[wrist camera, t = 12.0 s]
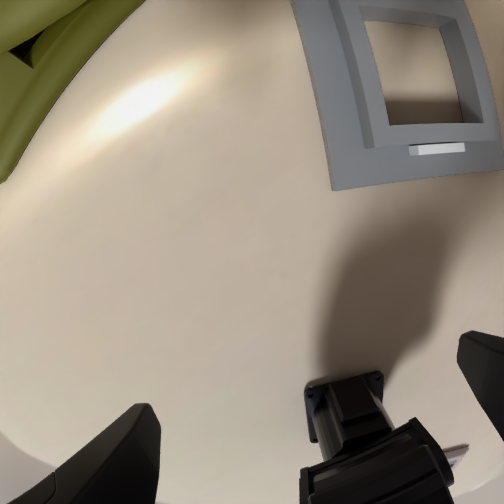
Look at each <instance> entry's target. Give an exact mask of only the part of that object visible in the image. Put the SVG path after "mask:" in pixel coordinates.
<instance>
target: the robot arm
mask: <svg viewBox="0 0 504 504" xmlns="http://www.w3.org/2000/svg"><path fill="white" fill-rule="evenodd" d="M457 363H458V365H459V367H460V369H461V371H462V373H463V374H464V376H465V378H466V380H467V382H468V384H469V386H470V387H471V389H472V391H473V393H474V395H475V397H476V399H477V400H478V402H479V404H480V405H481V407H482V408H483V410H484V411H485V413H486V414H487V416H488V417H489V419H490V420H491V422H492V424H493V425H494V427H495V428H496V430H497V431H498V433H499V435H500V436H501V438H502V440H503V441H504V338H503V337H498V336H494V335H490V334H486V333H482V332H477V331H473V330H472V331H469V332H466V333H464V334H462V335H461V336H460V339H459V345H458V352H457ZM377 376H379V377H378V378H376V377H377ZM383 384H384V375H383V374H382V372H381V371H375V372H371V373H368V374H364V375H360V376H357V377H353V378H349V379H345V380H342V381H338V382H334V383H329V384H325V385H321V386H317V387H312V388H308V389H306V390H305V391H304V400H305V407H306V415H307V423H308V431H309V438H310V442H311V443H318V442H319V445H320V449H321V453H322V456H323V460H324V462H322V463H319V464H317V465H314V466H311V467H305V468H302V469H300V476H301V478H299V491H300V504H454V502H453V499H452V497H451V494H450V491H449V489H448V487H449V486H451V485H453V484H454V477H453V473H452V470H451V467H450V464H449V462H448V460H447V458H446V456H445V454H444V452H443V451H442V449H441V447H440V446H439V445H438V443H437V442H436V441H435V440H434V438H433V437H432V436H431V435H430V434H429V432H428V431H427V430H426V429H425V428H424V426H423V425H422V424H421V423H420V422H419V421H418V419H417V418H416V417H414V418H412V419H410V420H409V422H407V423H406V424H404V425H402V426H400V427H398V428H396V429H395V427H394V425H393V423H392V421H391V420H390V418H389V416H388V414H387V412H386V411H385V409H384V407H383V405H382V400H383ZM311 393H313V394H312V395H309V394H311ZM160 444H161V426H160V423H159V421H158V419H157V417H156V415H155V413H154V411H153V409H152V407H151V405H150V404H148V403H137V404H134V405H133V406H132V407H130V408H129V409H128V410H127V411H126V412H125V413H123V414H122V415H121V416H120V417H119V418H118V419H116V420H115V421H114V422H113V423H112V424H111V425H109V426H108V427H107V428H106V429H105V430H103V431H102V432H101V433H100V434H99V435H97V436H96V437H95V438H94V439H93V440H91V441H90V442H89V443H88V444H87V445H85V446H84V447H83V448H82V449H81V450H79V451H78V452H77V453H76V454H74V455H73V456H72V457H71V458H70V459H68V460H67V461H66V462H65V463H63V464H62V465H61V466H60V467H58V468H57V469H56V470H55V472H52V473H51V474H50V475H48V476H47V477H46V478H45V479H43V480H42V481H41V482H39V483H38V484H37V485H35V486H34V487H33V488H31V489H30V490H28V491H27V492H25V493H23V494H22V495H20V496H19V497H17V498H16V499H14V500H12V501H11V502H9V503H7V504H155V499H156V493H157V486H158V480H159V469H160Z"/></svg>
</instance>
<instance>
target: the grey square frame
mask: <svg viewBox="0 0 504 504" xmlns="http://www.w3.org/2000/svg"><path fill="white" fill-rule="evenodd" d="M290 1H291V5H292V8H293V12H294V15H295V19H296V22H297V26H298V30H299V33H300V37H301V41H302V45H303V49H304V53H305V57H306V61H307V65H308V69H309V73H310V77H311V82H312V86H313V91H314V95H315V100H316V105H317V110H318V114H319V119H320V124H321V130H322V135H323V140H324V146H325V151H326V157H327V163H328V169H329V175H330V181H331V187H332V190H333V191H340V190H346V189H353V188H359V187H366V186H372V185H379V184H386V183H393V182H401V181H408V180H416V179H423V178H431V177H439V176H448V175H456V174H465V173H474V172H484V171H494V170H504V155H503V147H502V139H501V132H500V126H499V120H498V114H497V109H496V104H495V99H494V95H493V90H492V86H491V82H490V78H489V74H488V70H487V66H486V63H485V59H484V56H483V52H482V49H481V46H480V43H479V40H478V37H477V34H476V31H475V28H474V25H473V23H472V20H471V17H470V15H469V12H468V10H467V7H466V5H465V2H464V0H290ZM363 20H364V21H383V22H396V23H406V24H415V25H423V26H430V27H436V28H439V29H440V32H441V35H442V38H443V41H444V44H445V47H446V50H447V54H448V57H449V61H450V64H451V68H452V72H453V76H454V80H455V84H456V88H457V92H458V97H459V101H460V106H461V111H462V117H463V122H464V123H433V124H408V125H391V126H389V120H388V115H387V110H386V105H385V101H384V96H383V92H382V87H381V83H380V79H379V75H378V71H377V67H376V63H375V59H374V56H373V52H372V48H371V45H370V41H369V38H368V35H367V31H366V28H365V25H364V22H363Z"/></svg>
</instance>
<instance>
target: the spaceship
mask: <svg viewBox="0 0 504 504" xmlns="http://www.w3.org/2000/svg"><path fill="white" fill-rule="evenodd" d="M144 1H145V0H0V184H1V183H3V182H5V181H6V180H7V178H8V177H9V176H10V174H11V173H12V171H13V170H14V168H15V166H16V164H17V162H18V161H19V159H20V157H21V155H22V154H23V152H24V150H25V148H26V147H27V145H28V143H29V142H30V140H31V138H32V137H33V135H34V133H35V132H36V130H37V129H38V127H39V125H40V124H41V122H42V121H43V119H44V118H45V116H46V115H47V113H48V112H49V110H50V109H51V107H52V106H53V105H54V103H55V102H56V100H57V99H58V97H59V96H60V95H61V93H62V92H63V91H64V89H65V88H66V87H67V85H68V84H69V83H70V81H71V80H72V79H73V77H74V76H75V75H76V74H77V72H78V71H79V70H80V69H81V67H82V66H83V65H84V64H85V63H86V61H87V60H88V59H89V58H90V57H91V55H92V54H93V53H94V52H95V51H96V50H97V49H98V47H99V46H100V45H101V44H102V43H103V42H104V41H105V40H106V39H107V38H108V36H109V35H110V34H111V33H112V32H113V31H114V30H115V29H116V28H117V27H118V26H119V25H120V24H121V23H122V22H123V21H124V20H125V19H126V18H127V17H128V16H129V15H130V14H131V13H132V12H133V11H134V10H135V9H136V8H137V7H138V6H140V5H141V4H142V3H143V2H144ZM46 27H47V28H46ZM45 28H46V29H45ZM44 29H45V30H44ZM42 30H44V31H43V33H42V34H41V35H40V36H39V38H38V39H37V40H36V42H35V43H34V44H33V45H32V47H31V48H30V49H29V51H28V52H27V54H26V55H25V56H24V58H23V59H21V58H20V57H18V56H17V55H15V54H14V53H13V52H11V51H10V49H12V48H14V47H16V46H17V45H19V44H21V43H23V42H25V41H27V40H28V39H30V38H32V37H33V36H35V35H36V34H38V33H39V32H41V31H42Z"/></svg>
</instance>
